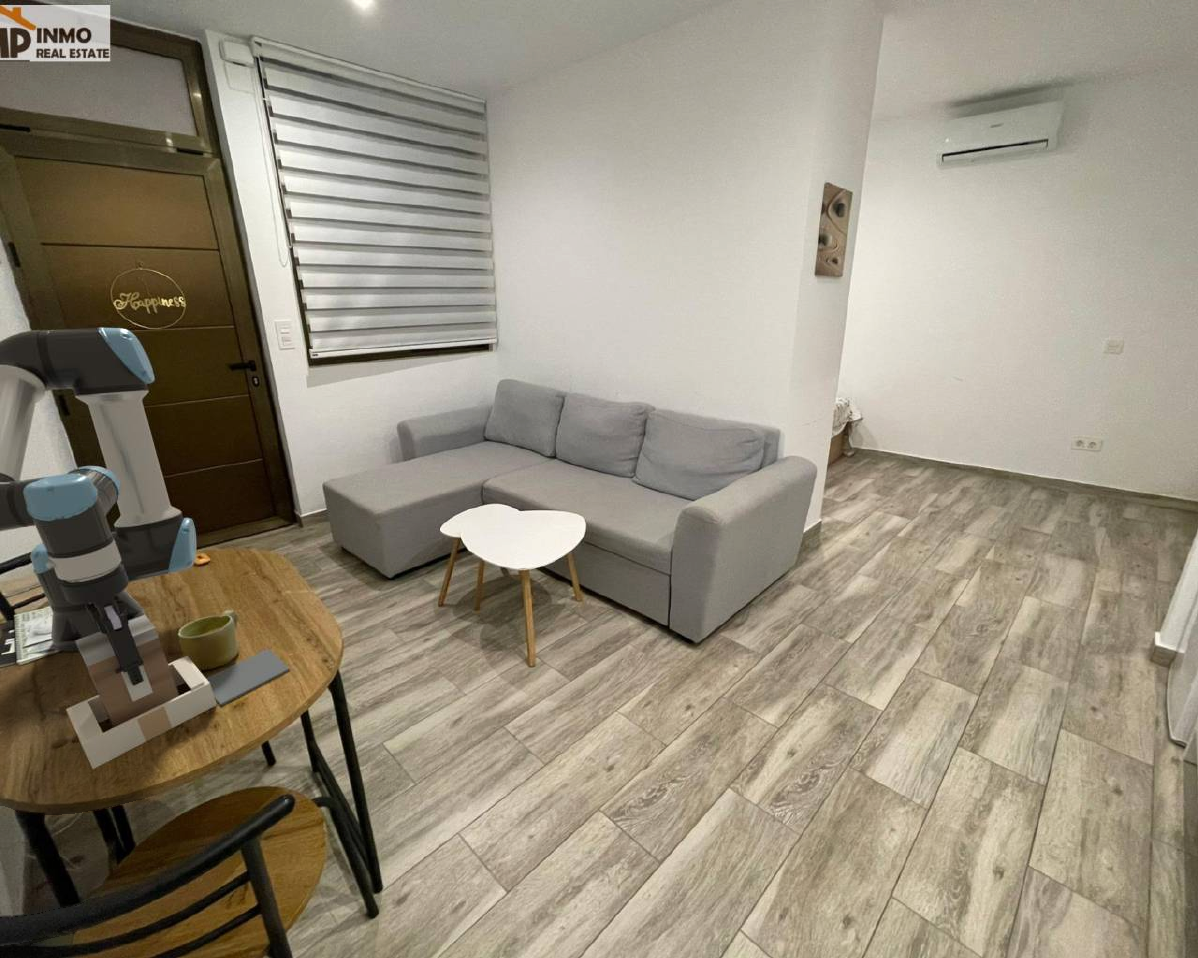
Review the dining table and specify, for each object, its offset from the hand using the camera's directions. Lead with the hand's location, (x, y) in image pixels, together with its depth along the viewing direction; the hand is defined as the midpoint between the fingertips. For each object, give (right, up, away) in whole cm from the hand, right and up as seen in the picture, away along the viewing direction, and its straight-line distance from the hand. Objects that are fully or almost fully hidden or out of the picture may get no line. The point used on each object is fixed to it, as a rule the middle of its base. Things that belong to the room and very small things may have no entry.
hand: (136, 686), depth 91 cm
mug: (+1, -1, +19) cm, 19 cm away
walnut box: (0, -7, +2) cm, 7 cm away
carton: (0, -7, +2) cm, 7 cm away
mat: (+11, -3, +12) cm, 17 cm away
